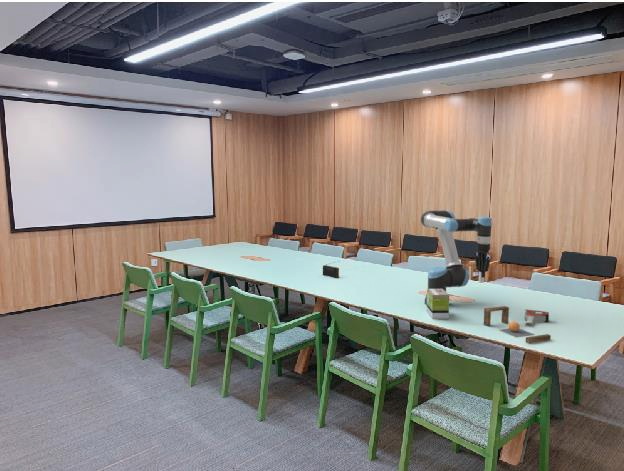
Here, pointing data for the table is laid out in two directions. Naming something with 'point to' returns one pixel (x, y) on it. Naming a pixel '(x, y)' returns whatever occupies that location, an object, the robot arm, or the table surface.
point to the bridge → (488, 310)
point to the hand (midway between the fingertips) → (481, 282)
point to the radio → (331, 271)
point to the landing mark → (518, 333)
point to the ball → (514, 326)
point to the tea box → (438, 303)
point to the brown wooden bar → (538, 338)
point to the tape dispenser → (535, 317)
